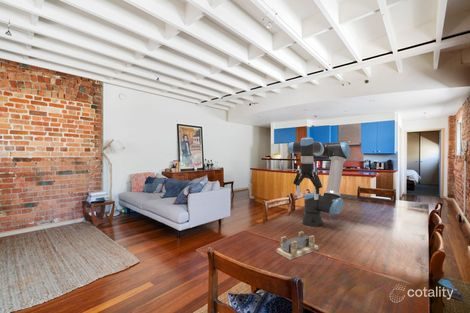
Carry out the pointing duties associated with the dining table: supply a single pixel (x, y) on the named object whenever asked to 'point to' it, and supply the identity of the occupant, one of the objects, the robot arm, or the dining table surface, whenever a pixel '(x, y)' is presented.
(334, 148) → the robot arm
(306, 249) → the rack
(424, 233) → the dining table surface
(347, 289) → the dining table surface
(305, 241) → the bar
